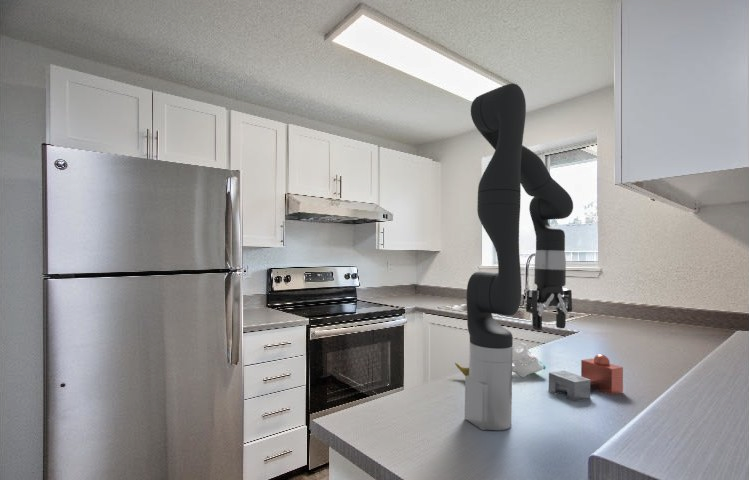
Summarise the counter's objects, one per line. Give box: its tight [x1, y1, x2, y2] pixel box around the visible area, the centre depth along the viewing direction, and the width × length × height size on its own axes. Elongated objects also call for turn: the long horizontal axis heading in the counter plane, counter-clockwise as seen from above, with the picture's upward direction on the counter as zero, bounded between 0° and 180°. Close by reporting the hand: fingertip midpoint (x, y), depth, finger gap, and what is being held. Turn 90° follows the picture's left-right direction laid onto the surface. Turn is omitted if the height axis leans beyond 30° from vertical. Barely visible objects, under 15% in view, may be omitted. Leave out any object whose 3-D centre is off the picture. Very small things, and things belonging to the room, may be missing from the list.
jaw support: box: [512, 342, 547, 378], centre depth 117 cm, size 12×9×10 cm
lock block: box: [548, 370, 591, 402], centre depth 100 cm, size 6×8×5 cm
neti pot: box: [454, 362, 469, 377], centre depth 107 cm, size 4×15×6 cm, turn 44°
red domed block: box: [580, 354, 624, 396], centre depth 104 cm, size 11×9×10 cm
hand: (549, 328), depth 98 cm, fingers open, 8 cm apart
